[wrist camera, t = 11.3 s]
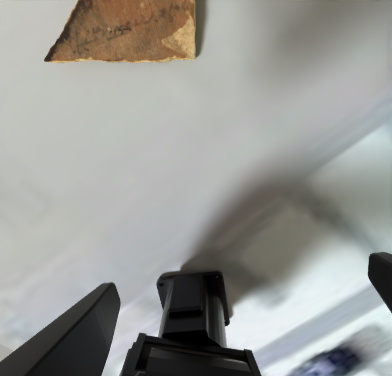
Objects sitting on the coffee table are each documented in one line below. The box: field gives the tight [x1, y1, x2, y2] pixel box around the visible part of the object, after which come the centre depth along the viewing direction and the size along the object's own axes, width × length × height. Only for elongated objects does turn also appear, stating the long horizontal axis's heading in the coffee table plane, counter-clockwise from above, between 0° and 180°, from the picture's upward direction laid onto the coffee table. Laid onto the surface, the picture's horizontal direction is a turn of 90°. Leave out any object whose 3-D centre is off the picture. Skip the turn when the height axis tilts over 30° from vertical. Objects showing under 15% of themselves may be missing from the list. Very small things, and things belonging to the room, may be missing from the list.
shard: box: [44, 0, 196, 63], centre depth 15 cm, size 11×8×2 cm
